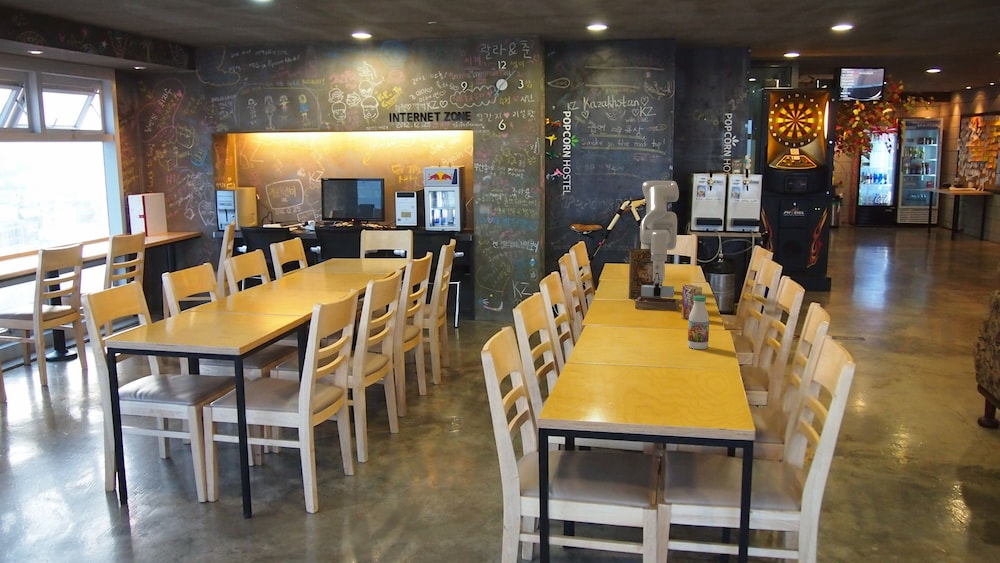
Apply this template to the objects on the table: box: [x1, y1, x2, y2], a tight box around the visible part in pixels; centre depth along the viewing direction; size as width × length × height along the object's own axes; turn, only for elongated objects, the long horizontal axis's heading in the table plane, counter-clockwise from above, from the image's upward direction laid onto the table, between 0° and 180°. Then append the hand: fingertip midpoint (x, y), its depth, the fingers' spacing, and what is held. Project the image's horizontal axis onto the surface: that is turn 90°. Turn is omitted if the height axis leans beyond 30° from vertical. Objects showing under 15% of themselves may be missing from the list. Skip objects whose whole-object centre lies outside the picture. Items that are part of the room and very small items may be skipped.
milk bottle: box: [687, 295, 710, 350], centre depth 303 cm, size 8×8×20 cm
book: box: [628, 248, 663, 300], centre depth 401 cm, size 16×6×25 cm, turn 84°
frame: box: [634, 297, 680, 312], centre depth 380 cm, size 12×19×4 cm, turn 73°
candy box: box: [681, 283, 703, 321], centre depth 353 cm, size 9×4×15 cm, turn 26°
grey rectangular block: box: [641, 285, 675, 299], centre depth 379 cm, size 15×5×4 cm, turn 73°
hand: (657, 294), depth 380 cm, fingers closed on grey rectangular block, 5 cm apart
